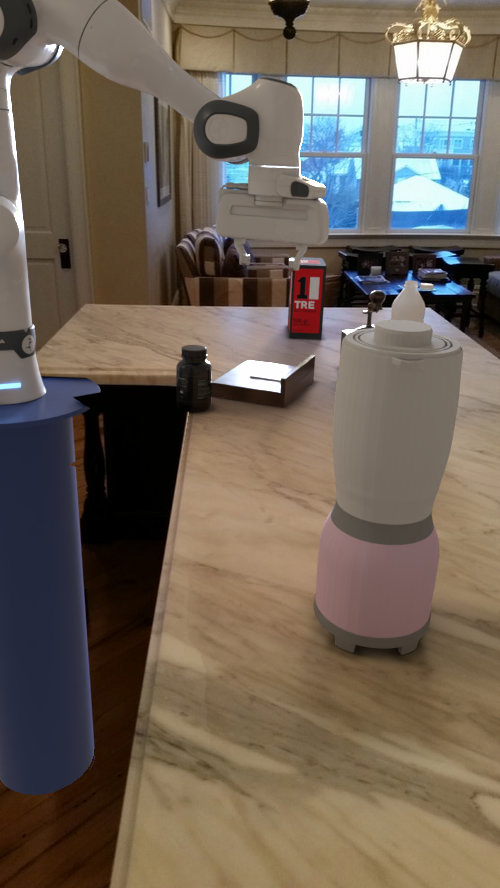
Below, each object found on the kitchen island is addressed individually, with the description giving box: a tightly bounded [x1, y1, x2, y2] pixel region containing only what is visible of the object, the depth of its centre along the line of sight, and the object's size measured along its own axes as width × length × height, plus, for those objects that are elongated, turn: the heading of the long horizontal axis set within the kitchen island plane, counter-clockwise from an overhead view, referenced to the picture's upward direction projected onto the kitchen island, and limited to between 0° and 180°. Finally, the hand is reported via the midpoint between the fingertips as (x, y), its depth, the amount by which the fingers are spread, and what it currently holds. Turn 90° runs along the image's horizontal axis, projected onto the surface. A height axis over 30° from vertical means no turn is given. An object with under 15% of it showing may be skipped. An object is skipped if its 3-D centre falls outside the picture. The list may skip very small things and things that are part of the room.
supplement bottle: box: [175, 344, 213, 414], centre depth 136 cm, size 7×7×12 cm
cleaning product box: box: [287, 256, 327, 340], centre depth 199 cm, size 16×9×20 cm, turn 179°
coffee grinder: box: [339, 289, 387, 355], centre depth 163 cm, size 16×11×18 cm
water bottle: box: [389, 279, 435, 323], centre depth 139 cm, size 9×6×25 cm
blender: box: [313, 319, 464, 656], centre depth 71 cm, size 16×12×32 cm
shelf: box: [212, 354, 316, 408], centre depth 150 cm, size 16×20×6 cm
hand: (268, 267), depth 126 cm, fingers open, 8 cm apart
